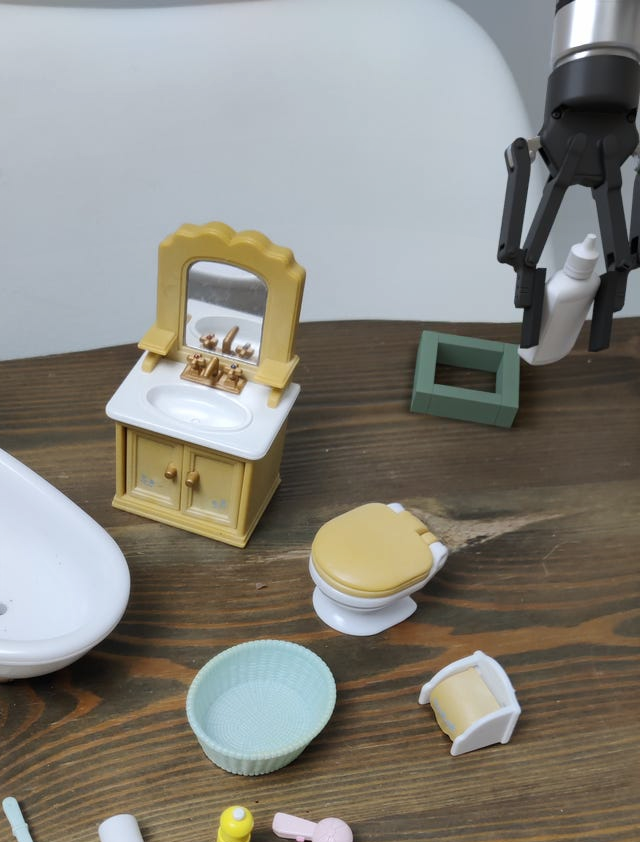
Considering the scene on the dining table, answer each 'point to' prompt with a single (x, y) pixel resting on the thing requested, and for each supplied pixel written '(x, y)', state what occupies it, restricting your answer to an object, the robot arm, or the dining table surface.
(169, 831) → the dining table surface
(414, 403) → the socket pad
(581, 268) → the eye dropper bottle
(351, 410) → the dining table surface
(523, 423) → the dining table surface
